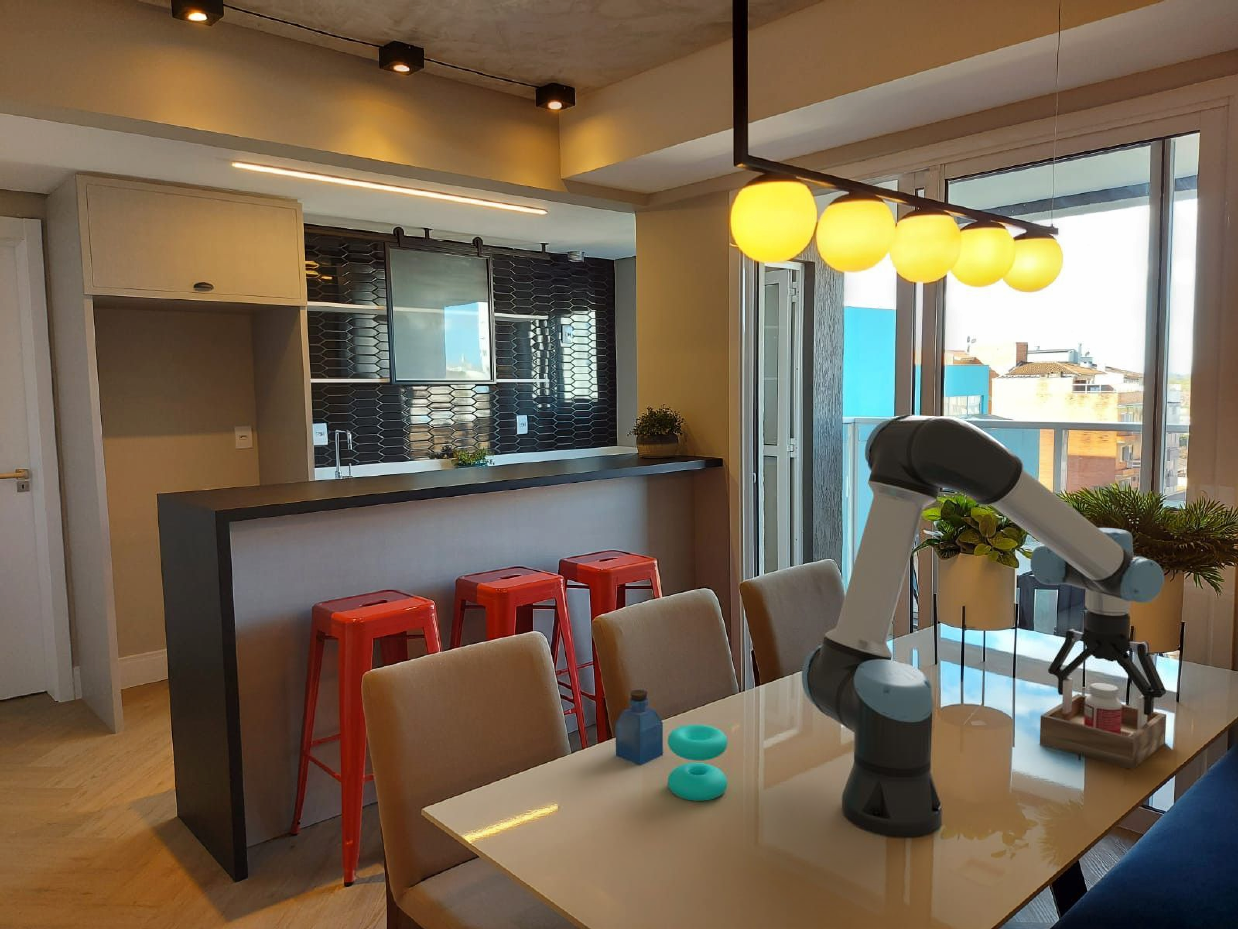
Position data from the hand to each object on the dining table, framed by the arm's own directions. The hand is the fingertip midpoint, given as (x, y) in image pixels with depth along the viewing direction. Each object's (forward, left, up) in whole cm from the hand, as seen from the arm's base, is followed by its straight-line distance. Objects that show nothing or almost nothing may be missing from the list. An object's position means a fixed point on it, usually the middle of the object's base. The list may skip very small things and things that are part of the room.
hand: (1103, 721), depth 168 cm
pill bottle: (0, 0, -4) cm, 4 cm away
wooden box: (0, 0, -4) cm, 4 cm away
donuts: (-81, -6, -5) cm, 81 cm away
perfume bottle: (-88, +10, -5) cm, 89 cm away
